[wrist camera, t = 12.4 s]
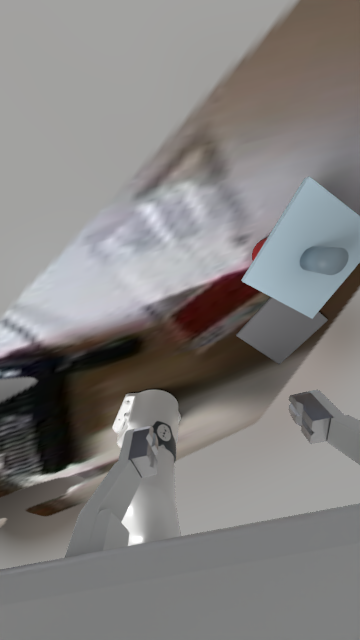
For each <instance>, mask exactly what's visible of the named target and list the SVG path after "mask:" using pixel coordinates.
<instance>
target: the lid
mask: <svg viewBox="0 0 360 640" xmlns="http://www.w3.org/2000/svg"><path fill="white" fill-rule="evenodd" d="M359 263H360V216H359V215H358V214H357V213H355V212H354V211H353V210H352V209H350V208H349V207H348V206H346V205H345V204H344V203H343V202H341V201H340V200H339V199H338V198H336V197H335V196H334V195H332V194H331V193H330V192H329V191H327V190H326V189H325V188H324V187H322V186H321V185H320V184H318V183H317V182H316V181H315V180H313V179H312V178H311V177H307V178H305V179H304V180H303V182H302V183H301V185H300V187H299V188H298V190H297V191H296V193H295V195H294V196H293V198H292V200H291V201H290V203H289V204H288V206H287V208H286V209H285V211H284V212H283V214H282V216H281V217H280V219H279V220H278V222H277V224H276V225H275V227H274V229H273V230H272V232H271V233H270V235H269V237H268V238H267V240H266V241H265V243H264V245H263V246H262V248H261V250H260V251H259V253H258V254H257V256H256V258H255V259H254V261H253V262H252V264H251V266H250V267H249V269H248V270H247V272H246V274H245V275H244V277H243V279H242V280H241V281H242V282H244V283H246V284H248V285H250V286H252V287H253V288H255V289H257V290H259V291H261V292H263V293H265V294H267V295H268V296H270V297H272V298H274V299H276V300H278V301H280V302H282V303H283V304H285V305H287V306H289V307H291V308H293V309H295V310H297V311H298V312H300V313H302V314H304V315H306V316H308V317H310V318H312V319H313V317H314V316H315V315H316V314H317V313H318V311H319V310H320V309H321V308H322V307H323V305H324V304H325V303H326V302H327V301H328V299H329V298H330V297H331V296H332V295H333V294H334V292H335V291H336V290H337V289H338V288H339V286H340V285H341V284H342V283H343V282H344V280H345V279H346V278H347V277H348V276H349V274H350V273H351V272H352V271H353V270H354V269H355V267H356V266H357V265H358V264H359Z"/></svg>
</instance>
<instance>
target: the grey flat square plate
mask: <svg viewBox="0 0 360 640" xmlns="http://www.w3.org/2000/svg"><path fill="white" fill-rule="evenodd" d="M326 321H327V319H326V318H325V317H324V316H323V315H322V314H321V313H319V312H318V313H317V314H316V315H315V316H314V317H313V319H312V318H310V317H308V316H306V315H304V314H302V313H300V312H298V311H297V310H295V309H293V308H291V307H289V306H287V305H285V304H283V303H282V302H280V301H278V300H276V299H274V298H272V297H270V298H269V300H268V301H267V302H266V303H265V304H264V305H263V306H262V307H261V308H260V309H259V310H258V312H257V313H256V314H255V315H254V316H253V317H252V318H251V319H250V320H249V321H248V322H247V324H246V325H245V326H244V327H243V328H242V329H241V330H240V331H239V332H238V333H237V334H236V336H237V337H239V338H240V339H242V340H243V341H245V342H246V343H248V344H249V345H251V346H253V347H254V348H256V349H257V350H259V351H260V352H262V353H263V354H265V355H266V356H268V357H269V358H271V359H272V360H274V361H275V362H277V363H278V364H280V363H281V362H283V361H284V360H285V359H286V358H287V357H288V356H289V355H290V354H291V353H292V352H293V351H295V350H296V349H297V348H298V347H299V346H300V345H301V344H302V343H303V342H304V341H306V340H307V339H308V338H309V337H310V336H311V335H312V334H313V333H314V332H315V331H316V330H318V329H319V328H320V327H321V326H322V325H323V324H324V323H325V322H326Z"/></svg>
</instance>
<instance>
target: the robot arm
mask: <svg viewBox="0 0 360 640" xmlns="http://www.w3.org/2000/svg"><path fill="white" fill-rule="evenodd" d="M289 401H290V402H291V404H290V405H289V411H290V414H291V416H292V418H293V420H294V421H295V423H296V424H298V425H300V426H301V427H302V428H301V431H302V433H303V434H304V436H305V437H306V439H307V440H308V441H309V443H310V444H312V443H318V442H324V441H327V442H328V443H329V444H331V445H332V446H334V447H335V448H336V449H338V450H339V451H341V452H342V453H344V454H345V455H346V456H348V457H349V458H351V459H352V460H354V461H355V462H356V463H358V464H359V465H360V420H358V419H355V418H353V417H351V416H349V415H344V414H343V413H342V412H341V411H340V410H339V409H338V408H337V407H336V406H335V405H334V404H333V403H332V402H331V401H329V399H328V398H327V397H326V396H325V395H324V394H323V393H321V392H320V391H319V390H313V391H309V392H303V393H299V394H295V395H291V396H290V397H289ZM180 421H181V415H180V413H179V411H178V402H177V400H176V398H175V397H174V396H173V395H171V394H170V393H168V392H165V391H162V390H146V391H143V392H140V393H129V394H127V395H126V396H125V398H124V400H123V403H122V405H121V407H120V410H119V412H118V414H117V416H116V419H115V421H114V423H113V427H112V428H113V430H114V431H115V432H116V433H118V438H117V444H118V446H119V447H120V448H121V452H120V456H119V460H118V462H116V463H115V464H114V466H113V467H112V468H111V470H110V471H109V473H108V474H107V475H106V477H105V478H104V480H103V481H102V482H101V484H100V485H99V487H98V488H97V489H96V491H95V492H94V494H93V495H92V496H91V498H90V499H89V501H88V502H87V503H86V505H85V507H84V508H83V509H82V510H81V512H80V513H79V516H78V519H77V522H76V526H75V528H74V531H73V534H72V537H71V540H70V543H69V546H68V549H67V553H66V555H65V558H60V559H55V560H49V561H44V562H39V563H34V564H28V565H23V566H18V567H12V568H6V569H0V640H360V503H359V504H354V505H348V506H343V507H337V508H332V509H327V510H321V511H316V512H310V513H305V514H299V515H294V516H288V517H283V518H278V519H272V520H267V521H261V522H256V523H250V524H245V525H239V526H234V527H229V528H224V529H218V530H212V531H207V532H202V533H196V534H191V535H185V536H181V532H180V527H179V522H178V515H177V508H176V497H175V472H174V463H175V461H176V443H177V441H178V422H180Z"/></svg>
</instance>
